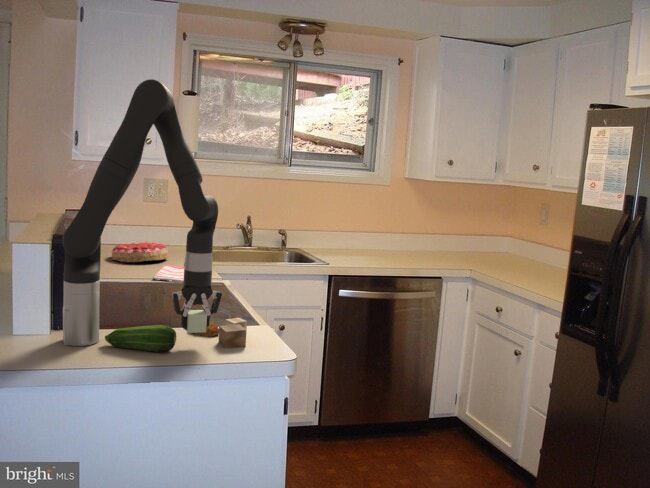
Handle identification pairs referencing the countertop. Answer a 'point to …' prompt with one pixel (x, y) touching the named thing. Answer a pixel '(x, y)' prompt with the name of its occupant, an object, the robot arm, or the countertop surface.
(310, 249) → the countertop surface
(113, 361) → the countertop surface
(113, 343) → the vegetable
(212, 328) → the pastry
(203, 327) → the sage cube
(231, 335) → the walnut block
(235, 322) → the birch block
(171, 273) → the dish towel
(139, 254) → the cake
